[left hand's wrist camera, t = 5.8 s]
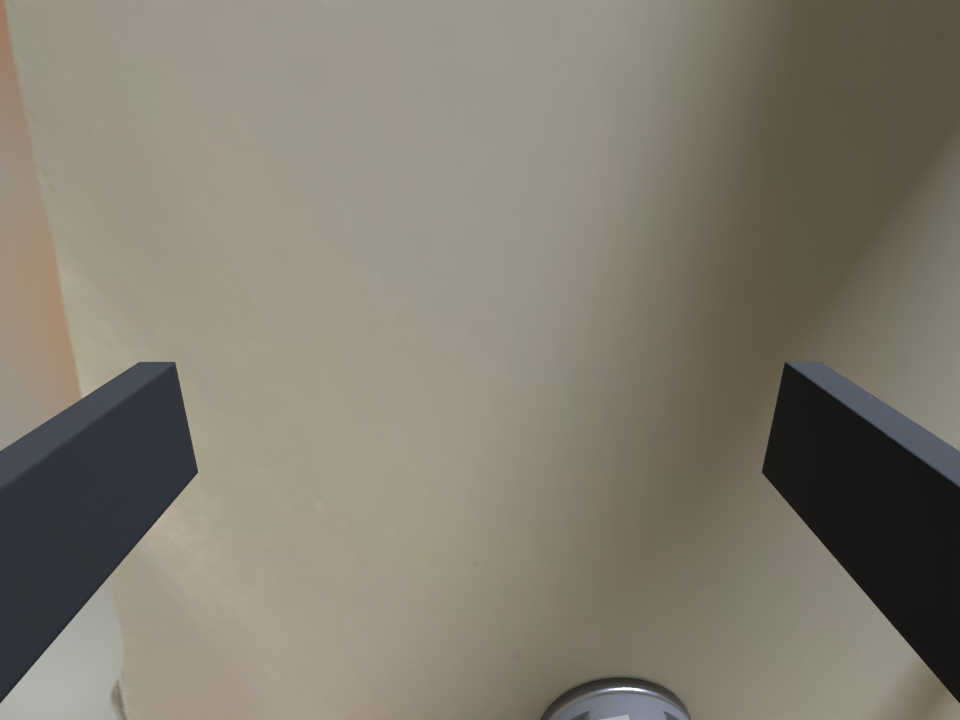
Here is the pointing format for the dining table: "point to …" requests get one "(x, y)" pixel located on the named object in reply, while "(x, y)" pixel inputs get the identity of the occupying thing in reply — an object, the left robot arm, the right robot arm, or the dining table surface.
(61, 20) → the dining table surface
